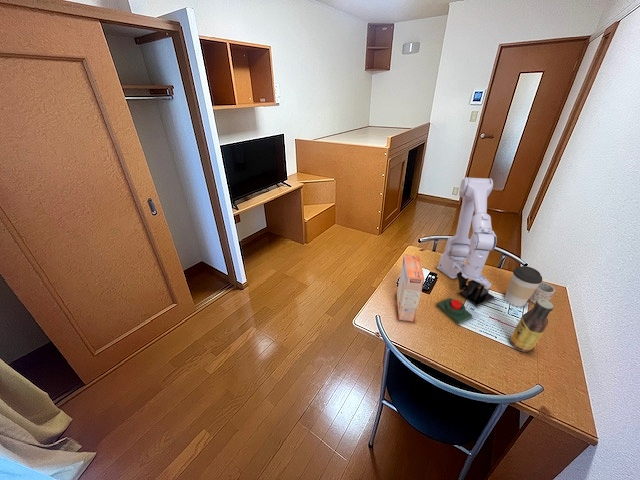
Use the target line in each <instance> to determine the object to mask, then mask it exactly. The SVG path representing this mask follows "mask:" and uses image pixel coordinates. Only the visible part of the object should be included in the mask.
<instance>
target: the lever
mask: <svg viewBox="0 0 640 480" xmlns="http://www.w3.org/2000/svg"><path fill="white" fill-rule="evenodd" d="M481 286H482V285H481V284H480V285H479V286H478V287H476V288H479V289H481ZM467 289H468V284H466V285H464V286H463V287H462V291H465V292H466V291H467Z"/></svg>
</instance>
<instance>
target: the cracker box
mask: <svg viewBox="0 0 640 480" xmlns="http://www.w3.org/2000/svg"><path fill="white" fill-rule="evenodd" d="M423 270H424V269H423V266H422V262H421V257H420V255H418V254H417V255H415V254H406V253H403V258H402V263H401V269H400V274H399V279H398V285H397V290H396V306H397V318H398V320H399V321H406V322H412V323H414V321H415V318H416V314H417V311H418V307H419V302H420V299H421V295H422V290H423V286H424V283H425V275H424V271H423Z"/></svg>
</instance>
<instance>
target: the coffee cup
mask: <svg viewBox="0 0 640 480" xmlns="http://www.w3.org/2000/svg"><path fill="white" fill-rule="evenodd" d="M541 282H543V276H542V275H541V273H540V271H538V270H537V269H536V268H533V267H532V266H528V265H520V266H517V267H515V268H514V269H513V270H512V274H511V277H510V279H509V282H508V285H507V290H506V291H505V295H504V299H505V300H506V302H508V303H509V304H510V305H512V306H516V307H523V306H525V305H526V303H527V302H528V301H529V298H530V297H531V296H532V294H533V293H534V292H535V290H536V289H537V288H538V285H539V284H540V283H541Z"/></svg>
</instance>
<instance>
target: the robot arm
mask: <svg viewBox="0 0 640 480" xmlns="http://www.w3.org/2000/svg"><path fill="white" fill-rule="evenodd" d="M493 188H494V181H493V178H491V177H489V178H484V177H468V176H465V177H463V178H462V179H461V182H460V185H459V192H458V197H459V198H461V199H462V202H461V207H460V210H459V211H460V212H459V217H458V222H457V226H456V232H455V234H454V235H452V236H450V237H448V239H447V240H446V241H447V242H446V243H445V247H444V252H442V254H441V255H440V256H439V260H438V265H437V266H436V269H438V270H439V271H440V272H441V273H443V274H445V275H446V276H447V277H448V278H450V279H451V280H454V279H457V280H458V289H459V290H460V291H463V289H462V287H463V286H464V285H468V289H467V291H466V295H470V294H471V293H472V292H473V291H474V289H475V288H476V287H478V286H479V285H480V284H481V285H483V286H484V288H485V289H489V288H490V289H491V287H492V285H493V283H492V282H491V281H489V280H488V279H487V278H486V277H485V276H484V275H483V273H482V272H483V270H484V267H485V265H486V262H487V260H488V257H489V255H490V251H494V250H495V249H496V246H497V242H498V241H497V235H496V233H495V231H494V230H493V227H492V217H491V215H490V214H488V197H489V196H490V194H491V192H492V190H493ZM471 228H472V235H470V238H469V234H470V231H471ZM490 282H491V283H490ZM490 289H489V290H490Z"/></svg>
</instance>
